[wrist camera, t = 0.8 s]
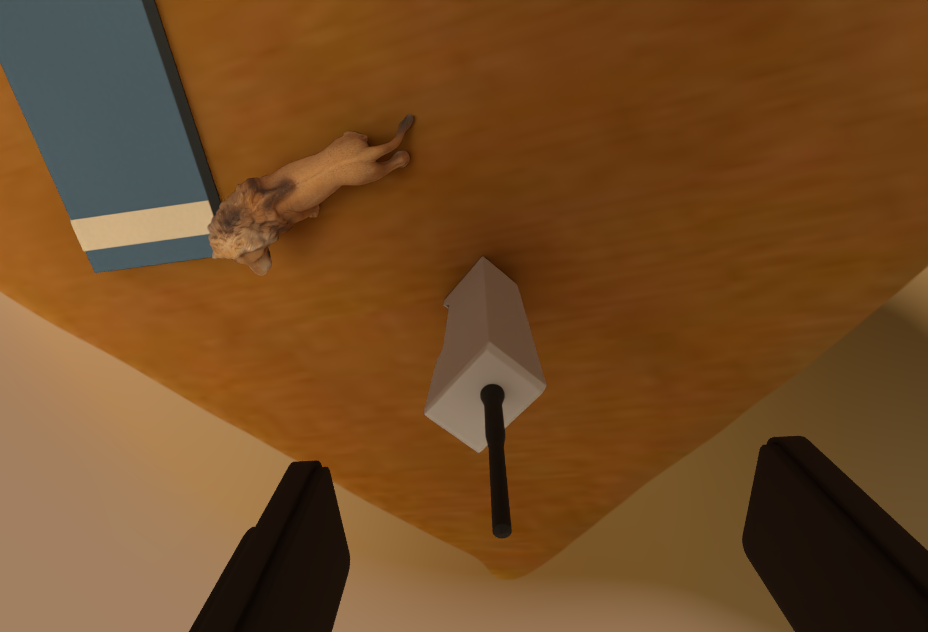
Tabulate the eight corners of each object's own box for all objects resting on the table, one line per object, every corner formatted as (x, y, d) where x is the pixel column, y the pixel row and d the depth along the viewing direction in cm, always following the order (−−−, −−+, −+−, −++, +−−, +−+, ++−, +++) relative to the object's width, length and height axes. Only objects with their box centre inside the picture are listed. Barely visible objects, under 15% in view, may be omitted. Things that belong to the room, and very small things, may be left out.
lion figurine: (289, 259, 37) (235, 296, 29) (241, 204, 35) (169, 226, 27) (433, 146, 34) (420, 150, 25) (388, 80, 32) (357, 61, 24)
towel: (-19, -22, 30) (-44, -30, 29) (137, -51, 30) (120, -61, 28) (108, 267, 38) (93, 273, 36) (236, 250, 37) (226, 255, 35)
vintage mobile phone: (443, 299, 38) (395, 560, 15) (482, 254, 36) (498, 465, 13) (477, 326, 39) (483, 613, 16) (517, 283, 37) (589, 529, 14)
